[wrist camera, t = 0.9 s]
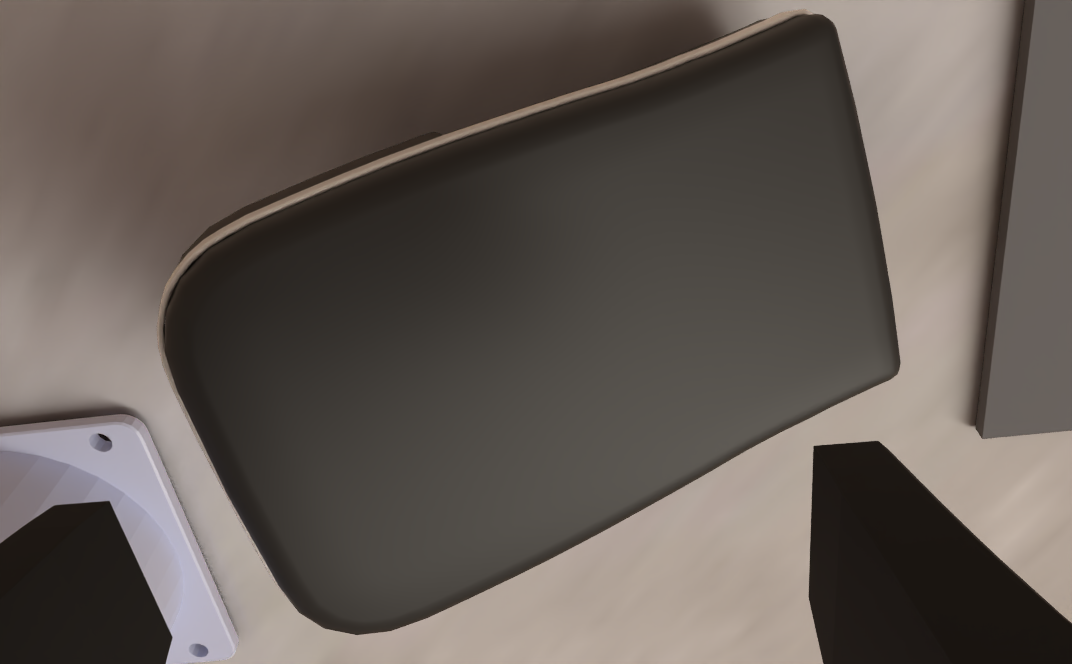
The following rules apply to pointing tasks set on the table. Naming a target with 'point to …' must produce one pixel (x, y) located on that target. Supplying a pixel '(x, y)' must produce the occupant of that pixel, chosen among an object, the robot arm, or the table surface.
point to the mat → (1034, 242)
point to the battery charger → (533, 322)
